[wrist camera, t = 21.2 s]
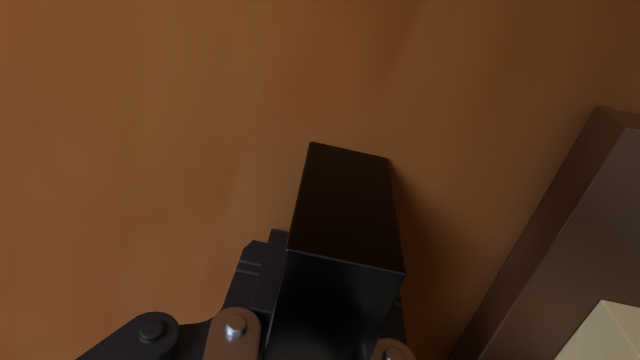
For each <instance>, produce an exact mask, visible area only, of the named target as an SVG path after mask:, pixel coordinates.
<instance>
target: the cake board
mask: <svg viewBox="0 0 640 360" xmlns="http://www.w3.org/2000/svg"><path fill="white" fill-rule="evenodd" d="M600 300H606V301H611V302H615V303H620V304H625V305H630V306H635V307H639V308H640V116H639V115H635V114H631V113H626V112H622V111H618V110H613V109H609V108H605V107H600V106H598V107H596V108H595V109H594V111H593V113H592V114H591V116H590V118H589V120H588V121H587V123H586V125H585V126H584V128H583V130H582V132H581V133H580V135H579V137H578V138H577V140H576V142H575V144H574V145H573V147H572V149H571V150H570V152H569V154H568V155H567V157H566V159H565V161H564V162H563V164H562V166H561V167H560V169H559V171H558V173H557V174H556V176H555V178H554V179H553V181H552V183H551V185H550V186H549V188H548V190H547V191H546V193H545V195H544V197H543V198H542V200H541V202H540V203H539V205H538V207H537V209H536V210H535V212H534V214H533V215H532V217H531V219H530V221H529V222H528V224H527V226H526V227H525V229H524V231H523V233H522V234H521V236H520V238H519V239H518V241H517V243H516V245H515V246H514V248H513V250H512V251H511V253H510V255H509V257H508V258H507V260H506V262H505V263H504V265H503V267H502V268H501V270H500V272H499V274H498V275H497V277H496V279H495V280H494V282H493V284H492V286H491V287H490V289H489V291H488V292H487V294H486V296H485V298H484V299H483V301H482V303H481V304H480V306H479V308H478V310H477V311H476V313H475V315H474V316H473V318H472V320H471V322H470V323H469V325H468V327H467V328H466V330H465V332H464V334H463V335H462V337H461V339H460V340H459V342H458V344H457V346H456V347H455V349H454V351H453V352H452V354H451V356H450V358H449V359H448V360H554V359H555V357H556V356H557V355H558V354H559V352H560V351H561V350H562V349H563V347H564V346H565V345H566V343H567V342H568V341H569V340H570V338H571V337H572V336H573V335H574V333H575V332H576V331H577V330H578V328H579V327H580V326H581V324H582V323H583V322H584V321H585V319H586V318H587V317H588V316H589V314H590V313H591V312H592V310H593V309H594V308H595V307H596V305H597V304H598V303H599V302H600Z"/></svg>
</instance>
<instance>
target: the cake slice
mask: <svg viewBox="0 0 640 360" xmlns="http://www.w3.org/2000/svg"><path fill="white" fill-rule="evenodd" d="M554 360H640V308H639V307H635V306H630V305H625V304H620V303H615V302H611V301H606V300H600V302H599V303H598V304H597V305H596V307H595V308H594V309H593V310H592V312H591V313H590V314H589V316H588V317H587V318H586V319H585V321H584V322H583V323H582V324H581V326H580V327H579V328H578V330H577V331H576V332H575V333H574V335H573V336H572V337H571V338H570V340H569V341H568V342H567V343H566V345H565V346H564V347H563V349H562V350H561V351H560V352H559V354H558V355H557V356H556V357H555V359H554Z"/></svg>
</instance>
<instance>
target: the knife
mask: <svg viewBox="0 0 640 360" xmlns="http://www.w3.org/2000/svg"><path fill="white" fill-rule="evenodd" d="M405 276H406V270H405V264H404V257H403V251H402V244H401V238H400V231H399V225H398V218H397V212H396V205H395V199H394V192H393V186H392V179H391V173H390V166H389V160H388V159H387V158H384V157H379V156H375V155H370V154H366V153H361V152H357V151H352V150H348V149H343V148H339V147H334V146H330V145H325V144H321V143H316V142H310V143H309V147H308V152H307V156H306V160H305V165H304V169H303V174H302V178H301V182H300V187H299V191H298V196H297V200H296V204H295V209H294V213H293V217H292V222H291V226H290V231H289V235H288V239H287V244H286V248H285V253H284V257H283V262H282V267H281V271H280V276H279V281H278V285H277V290H276V295H275V299H274V304H273V309H272V313H271V318H270V323H269V327H268V332H267V337H266V341H265V346H264V351H263V355H262V360H370V359H371V356H372V354H373V352H374V349H375V347H376V345H377V342H378V340H379V338H380V335H381V333H382V331H383V328H384V326H385V323H386V321H387V319H388V316H389V314H390V312H391V309H392V307H393V305H394V302H395V300H396V297H397V295H398V293H399V290H400V288H401V286H402V283H403V281H404V279H405Z"/></svg>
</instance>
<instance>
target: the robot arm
mask: <svg viewBox="0 0 640 360" xmlns="http://www.w3.org/2000/svg"><path fill="white" fill-rule="evenodd" d="M288 235H289V232H285V231H280V230H275V229H272V230H271V233H270V236H269V240H268V243H264V242H260V241H255V240H253V241H252V242H251V243H250V244H248V245H247V246H246V247H245V248H244V249H243V252H242V255H241V257H240V260H239V263H238V266H237V268H236V272H235V274H234V277H233V279H232V282H231V285H230V288H229V290H228V293H227V296H226V299H225V302H224V304H223V307H222V309H221V310H220V311H219V312H218V313H217V314H216V315H215V316H214V317H213V318H211V319H209V320H207V321H205V322H201V323H196V324H185V325H178V323H177V321H176V320H175V319H174V318H173V317H172V316H170V315H168V314H166V313H162V312H148V313H144V314H141V315H139V316H137V317H135V318H134V319H132V320H131V321H129V322H128V323H127V324H125V325H124V326H122V327H121V328H119V329H118V330H117V331H115V332H114V333H112V334H111V335H110V336H108V337H107V338H105V339H104V340H102V341H101V342H100V343H98V344H97V345H95V346H94V347H93V348H91V349H90V350H88V351H87V352H85V353H84V354H83V355H81V356H80V357H78V358H77V359H76V360H262V355H263V351H264V346H265V341H266V337H267V332H268V327H269V323H270V318H271V313H272V309H273V304H274V299H275V295H276V290H277V285H278V281H279V276H280V271H281V267H282V262H283V257H284V253H285V248H286V244H287V239H288ZM401 305H402V303H401V297H400V290H399V293H398V295H397V297H396V300H395V302H394V305H393V307H392V309H391V312H390V314H389V316H388V319H387V321H386V323H385V326H384V328H383V331H382V333H381V335H380V338H379V340H378V342H377V345H376V347H375V349H374V352H373V354H372V356H371V359H370V360H416V358H415V356H414V354H413V353H412V351H411V350H410V349H409V348H408V347H407V343H406V335H405V327H404V319H403V311H402V307H401Z"/></svg>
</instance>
